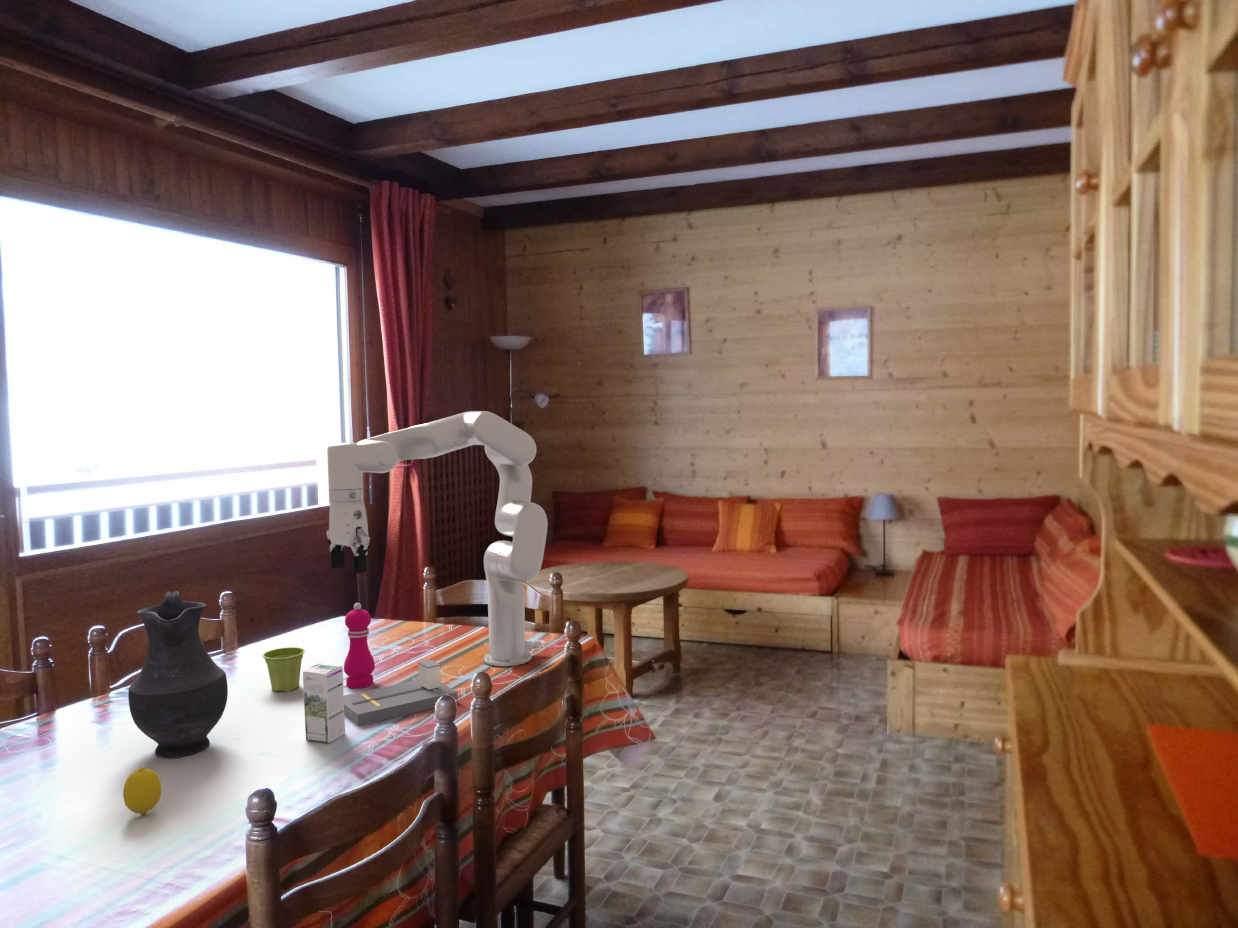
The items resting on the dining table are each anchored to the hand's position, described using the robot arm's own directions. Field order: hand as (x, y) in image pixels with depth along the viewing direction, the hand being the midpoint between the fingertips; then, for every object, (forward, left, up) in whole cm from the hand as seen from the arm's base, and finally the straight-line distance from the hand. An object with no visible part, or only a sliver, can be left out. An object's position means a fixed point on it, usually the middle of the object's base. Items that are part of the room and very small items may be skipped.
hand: (348, 570), depth 200 cm
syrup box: (+14, +22, -30) cm, 39 cm away
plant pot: (+11, -16, -30) cm, 35 cm away
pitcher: (+38, +8, -30) cm, 49 cm away
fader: (-13, +13, -27) cm, 32 cm away
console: (-5, +13, -29) cm, 33 cm away
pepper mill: (-4, -7, -30) cm, 31 cm away
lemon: (+49, +37, -30) cm, 68 cm away
